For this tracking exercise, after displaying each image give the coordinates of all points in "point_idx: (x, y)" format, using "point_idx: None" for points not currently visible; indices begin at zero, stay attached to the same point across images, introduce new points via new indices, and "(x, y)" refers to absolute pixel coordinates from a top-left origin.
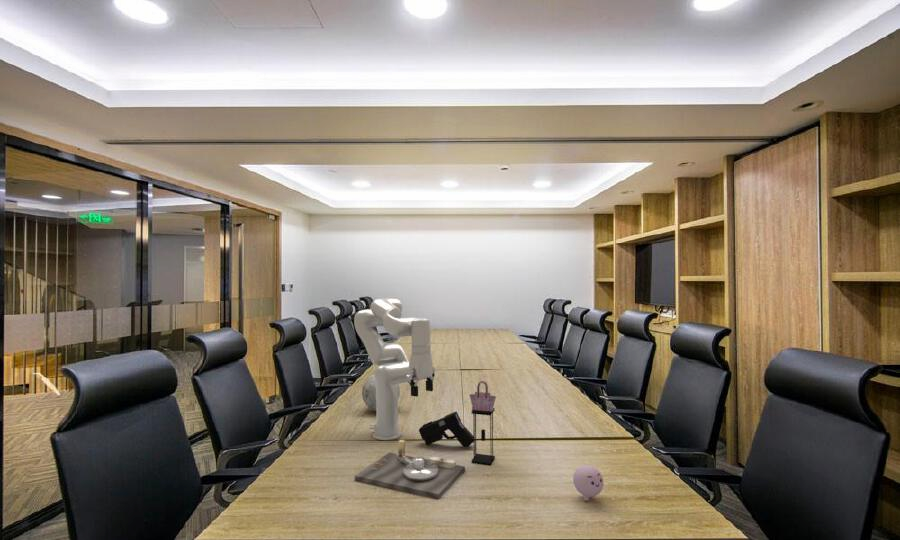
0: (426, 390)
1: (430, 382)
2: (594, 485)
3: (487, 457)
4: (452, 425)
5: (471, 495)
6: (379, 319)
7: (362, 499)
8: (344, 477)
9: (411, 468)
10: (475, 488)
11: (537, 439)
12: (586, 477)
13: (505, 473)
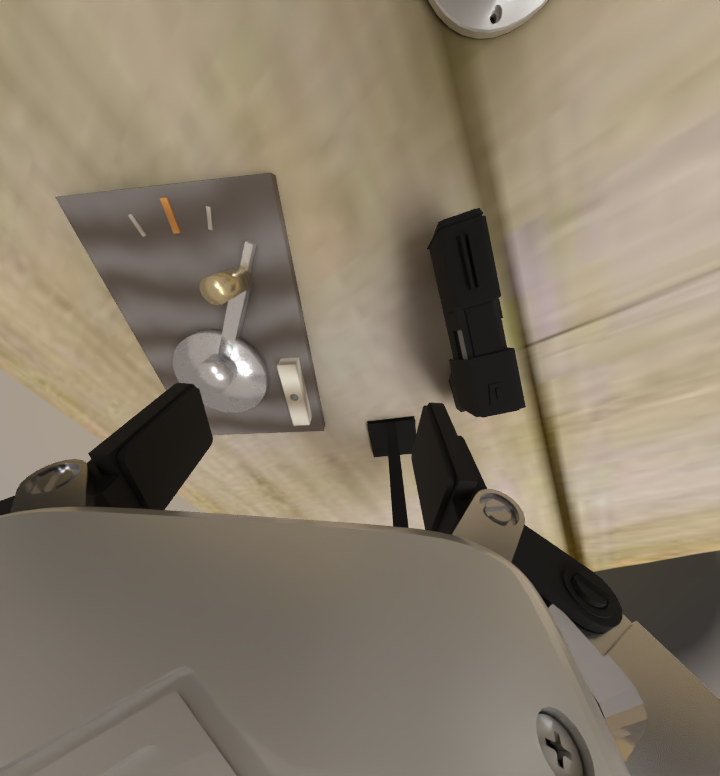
0: (423, 408)
1: (429, 519)
2: None
3: (401, 444)
4: (457, 385)
5: (248, 463)
6: None
7: (54, 303)
8: (40, 137)
9: (203, 355)
10: (273, 460)
11: (553, 485)
12: None
13: (355, 479)
